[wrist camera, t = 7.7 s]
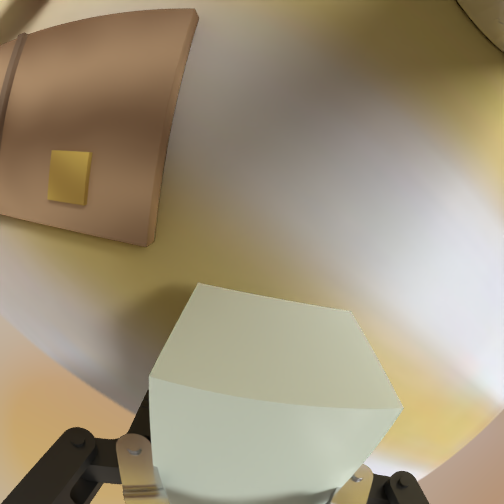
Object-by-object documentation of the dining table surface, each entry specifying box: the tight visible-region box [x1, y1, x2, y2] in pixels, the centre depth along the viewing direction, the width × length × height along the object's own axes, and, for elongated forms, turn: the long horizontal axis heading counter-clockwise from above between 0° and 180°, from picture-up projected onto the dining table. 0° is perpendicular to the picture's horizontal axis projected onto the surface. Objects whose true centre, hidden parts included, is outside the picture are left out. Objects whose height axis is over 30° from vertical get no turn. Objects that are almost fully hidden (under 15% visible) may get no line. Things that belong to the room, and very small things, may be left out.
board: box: [0, 9, 199, 247], centre depth 11 cm, size 11×22×1 cm, turn 79°
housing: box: [149, 283, 404, 504], centre depth 10 cm, size 11×6×6 cm, turn 169°
